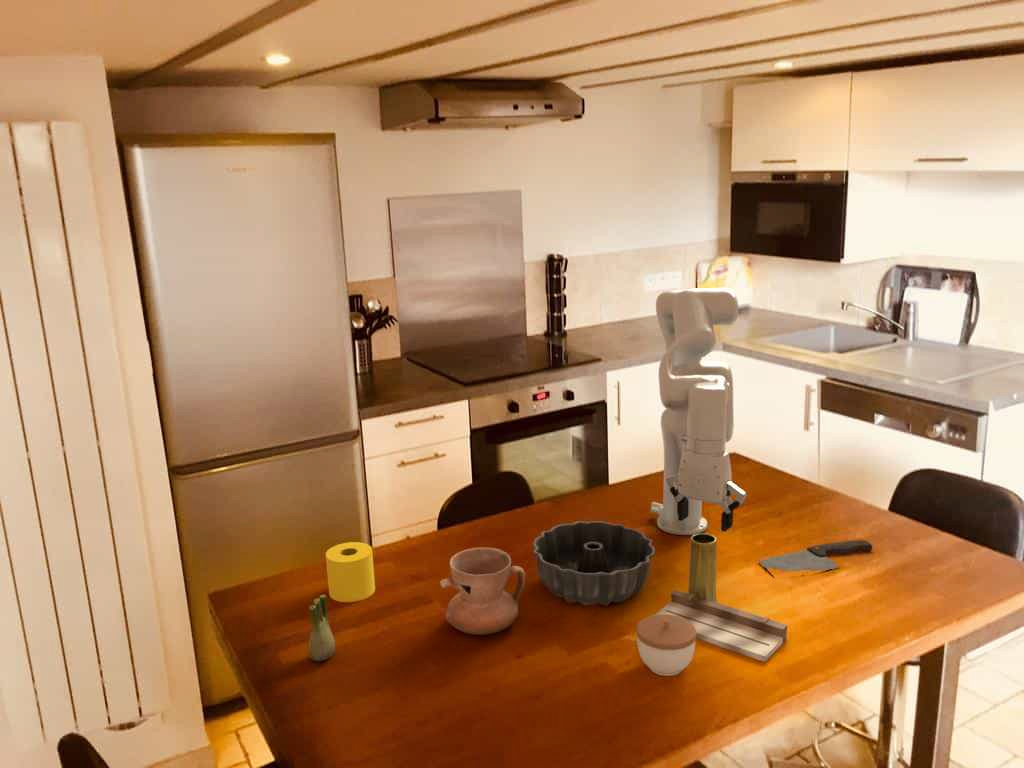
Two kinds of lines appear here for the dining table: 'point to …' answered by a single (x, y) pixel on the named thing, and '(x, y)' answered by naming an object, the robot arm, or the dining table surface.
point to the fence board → (728, 626)
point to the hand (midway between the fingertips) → (704, 524)
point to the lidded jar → (666, 643)
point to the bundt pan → (593, 561)
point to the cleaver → (814, 556)
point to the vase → (703, 566)
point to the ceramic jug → (482, 591)
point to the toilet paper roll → (350, 572)
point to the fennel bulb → (320, 632)
